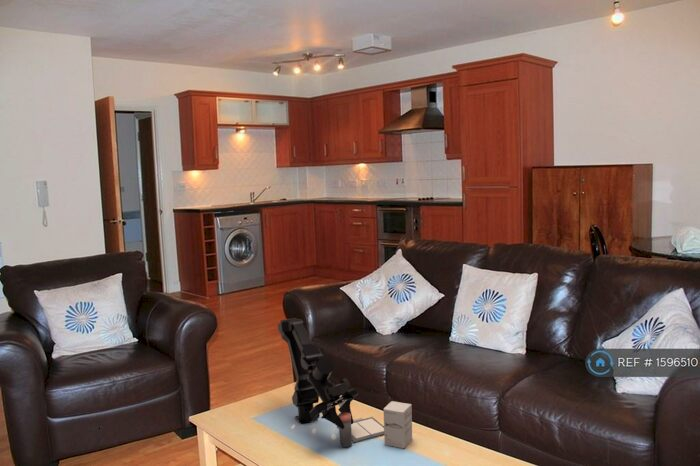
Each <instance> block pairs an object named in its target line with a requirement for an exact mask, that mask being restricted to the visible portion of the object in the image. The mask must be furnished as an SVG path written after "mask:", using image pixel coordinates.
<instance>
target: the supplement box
mask: <svg viewBox="0 0 700 466" xmlns="http://www.w3.org/2000/svg"><path fill="white" fill-rule="evenodd" d="M412 405H413V404H411V403H405V402H399V401H393V400H391V401H390V402H389V403H388V404H387V405H386V406H385V407H384V408H383V426H384V438H383V439H384V446H390V447H395V448H400V449H403V448H405V447H406V448H407V447H408V445H409V444H410V443H411V442H412V441H411V440H413V416H412V415H413V414H412V413H413V412H412ZM410 441H411V442H410ZM409 442H410V443H409ZM408 443H409V444H408ZM406 448H405V449H406Z"/></svg>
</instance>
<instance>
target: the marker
mask: <svg viewBox="0 0 700 466" xmlns="http://www.w3.org/2000/svg"><path fill="white" fill-rule="evenodd" d="M337 414H338V416H339V418H340V419H341V421H342V423H343V425H344V429H342V428H340V427H339V429H338V430H339V434H338V435H339V445H340V446H341V447H345V448H346V447H351V446H352V444H353V442H352V432H351V414H352V413H351V414H350V413H348V412H343V413H341V412H339V413H337Z"/></svg>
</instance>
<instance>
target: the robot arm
mask: <svg viewBox="0 0 700 466" xmlns="http://www.w3.org/2000/svg"><path fill="white" fill-rule="evenodd" d="M277 329H278V333H280V336H281V339H283V341H284V342H286V344H287V346H288V350H289V355H290V358H291V363H292V366H293V370H294V374H295V378H296V381H295V384H294V389H293V390H294V391H293V393H292V394H293V395H292V396H291V400H292V404H293V406H295V408H297V413H298V415H296V416H295V419H296V420H297V421H298V422H299V423H300V424H301V425H304V424H307V423H312V422H316V421H318V419H319V418H321V419H322V420H323V419H324V420H326V421H328V422H330V423H332V424H333V425H335V426H336V427H337V426H338V427H340V428H342V429H344V425H343V423H342V421H341V419H340V418H339V416H338V414H339V413H343V412H348V413H350V414H351V424H353V423H354V422H353V420H354V419H353V414H352V410H351V402H352V401H353V400H354V399H355V398H356V397H357V396H358V395H359V392H358V391H357V390H356V389H355V388H350V387H351V383H350V381H349V380H348V379H347V378H343V379H341V380H340V382H339V383H337V384H336V383H335V382H334V381H332V382H331V380H330V379H329V378H330V376H331V374H332V373H333V371H334V368H335V367H334V363H333V362H332V360H330V359H329V358H327V357H326V356H325V355H324V354H323V353H322V352H321V349H320V348H319V347H317V346H315V345H314V344H313V342H312V340H311V338H310V336H309V334H308V332H307V329H306V328H305V324H304V320H303V319H300V318H299V319H298V318H297V317H293V318H287V319H281V320H280V322H279V323H277ZM311 370H312V371H311ZM309 371H311V372H310V373H309ZM349 388H350V389H349ZM320 400H321V402H320V403H319V401H320ZM314 404H316V405H314ZM336 406H338V407H339V408H338V409H337V407H336ZM337 410H338V411H339V413H338V412H337ZM320 414H322V416H321V417H320Z"/></svg>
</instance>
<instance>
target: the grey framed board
mask: <svg viewBox="0 0 700 466" xmlns="http://www.w3.org/2000/svg"><path fill="white" fill-rule="evenodd" d="M353 422H354V423H353V424H351V432H352V444H353V443H354V444H358V443H360V442H364V441H368V440H371V439H376V438H380V437H383V435H384V424H382V423H381V422H379V421H378V420H377V419H376V418H374V416H370V417H366V418H362V417H359V418H355V419H353ZM336 428H337V429H338V430H339V427H338V426H337V425H336ZM379 436H380V437H379Z"/></svg>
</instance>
